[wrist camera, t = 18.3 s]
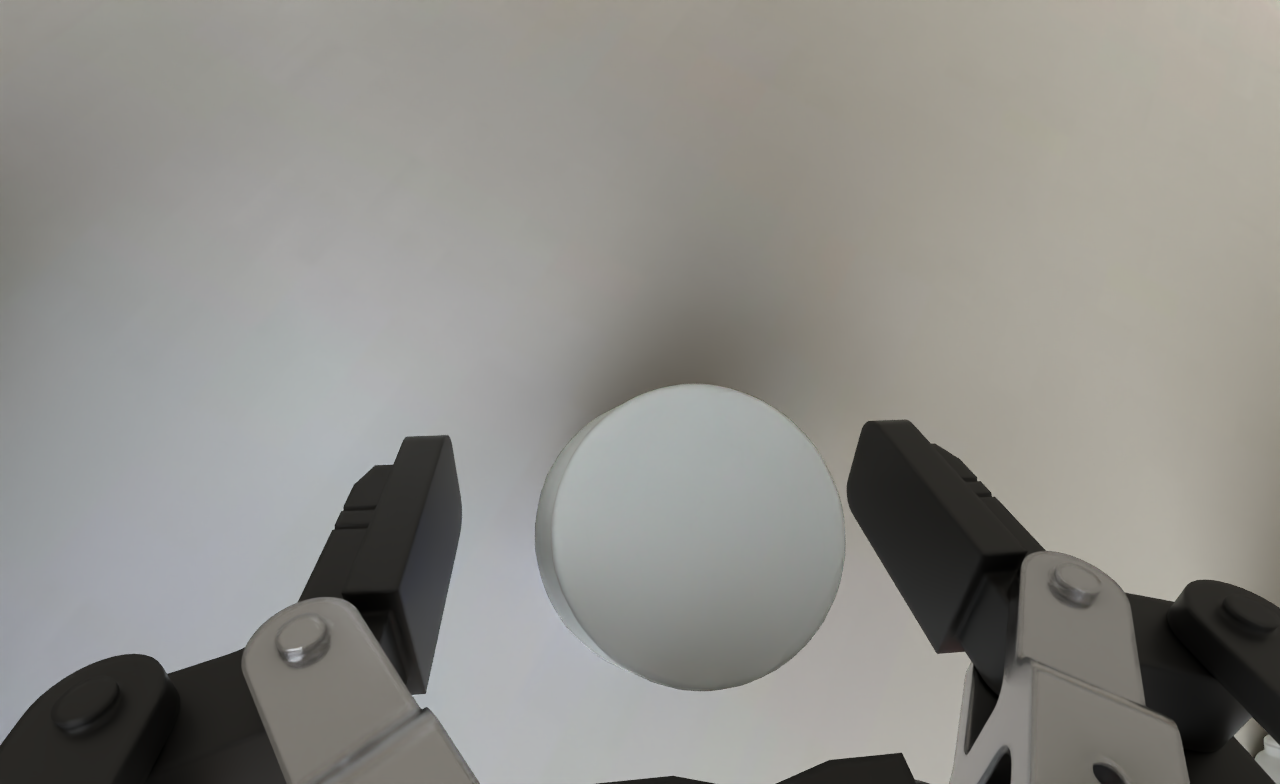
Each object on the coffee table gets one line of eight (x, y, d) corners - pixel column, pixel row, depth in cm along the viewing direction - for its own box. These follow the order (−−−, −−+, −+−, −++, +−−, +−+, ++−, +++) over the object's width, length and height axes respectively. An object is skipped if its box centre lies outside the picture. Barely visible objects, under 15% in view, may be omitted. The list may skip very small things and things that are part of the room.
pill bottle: (514, 516, 16) (443, 490, 7) (653, 412, 17) (724, 290, 8) (623, 667, 15) (674, 820, 7) (760, 549, 16) (947, 559, 8)
